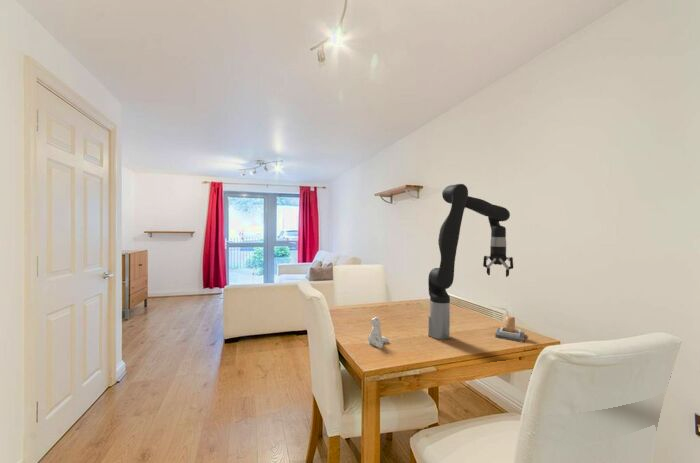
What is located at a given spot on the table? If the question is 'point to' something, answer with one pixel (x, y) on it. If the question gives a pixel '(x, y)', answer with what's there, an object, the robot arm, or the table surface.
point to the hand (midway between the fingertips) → (497, 275)
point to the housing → (510, 334)
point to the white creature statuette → (376, 334)
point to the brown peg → (510, 324)
